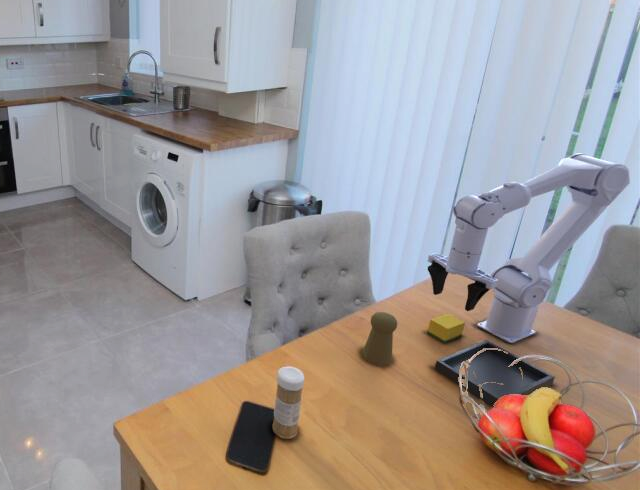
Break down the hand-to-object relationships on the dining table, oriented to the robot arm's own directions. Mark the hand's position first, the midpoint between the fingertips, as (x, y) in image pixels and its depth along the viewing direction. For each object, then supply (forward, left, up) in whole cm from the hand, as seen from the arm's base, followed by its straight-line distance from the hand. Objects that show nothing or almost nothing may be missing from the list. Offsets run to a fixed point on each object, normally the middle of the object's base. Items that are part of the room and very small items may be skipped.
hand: (452, 301), depth 112 cm
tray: (+5, +14, -9) cm, 18 cm away
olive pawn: (+21, -1, -10) cm, 23 cm away
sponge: (0, 0, -9) cm, 9 cm away
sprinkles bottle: (+54, +7, -10) cm, 55 cm away
